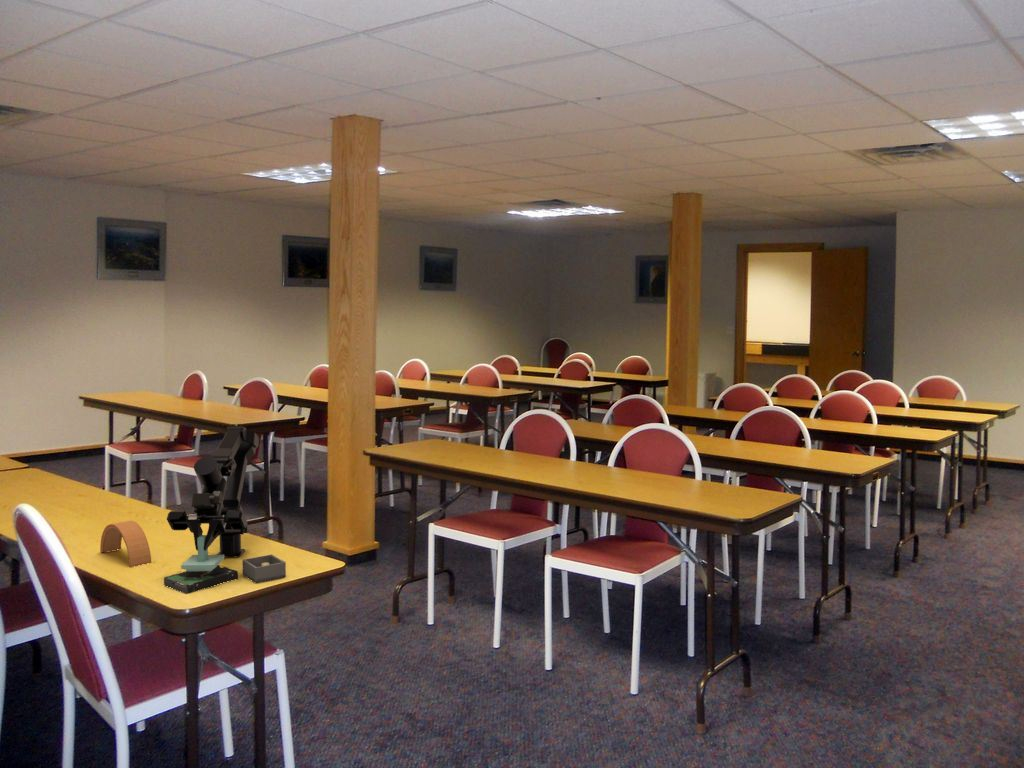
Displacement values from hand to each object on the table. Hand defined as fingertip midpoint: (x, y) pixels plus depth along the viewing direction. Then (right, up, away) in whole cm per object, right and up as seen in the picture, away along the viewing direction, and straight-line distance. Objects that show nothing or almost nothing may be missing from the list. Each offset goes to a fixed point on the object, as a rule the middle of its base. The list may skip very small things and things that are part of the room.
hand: (200, 549), depth 218 cm
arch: (-29, -7, +24) cm, 38 cm away
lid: (0, -5, +2) cm, 5 cm away
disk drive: (-1, -9, +3) cm, 10 cm away
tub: (+14, -8, +8) cm, 18 cm away
